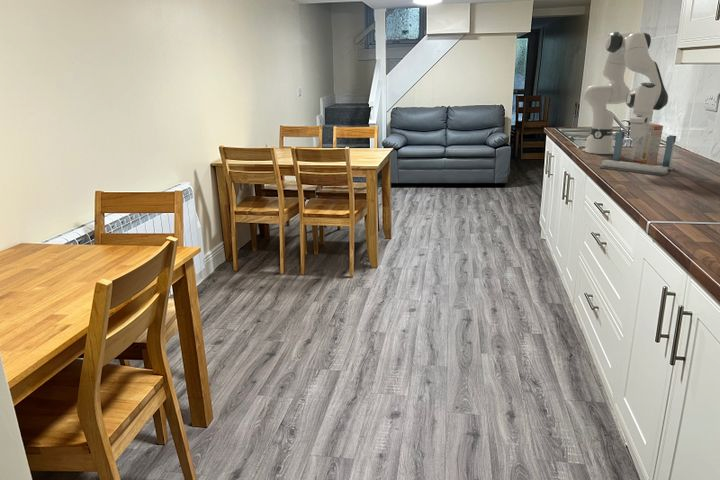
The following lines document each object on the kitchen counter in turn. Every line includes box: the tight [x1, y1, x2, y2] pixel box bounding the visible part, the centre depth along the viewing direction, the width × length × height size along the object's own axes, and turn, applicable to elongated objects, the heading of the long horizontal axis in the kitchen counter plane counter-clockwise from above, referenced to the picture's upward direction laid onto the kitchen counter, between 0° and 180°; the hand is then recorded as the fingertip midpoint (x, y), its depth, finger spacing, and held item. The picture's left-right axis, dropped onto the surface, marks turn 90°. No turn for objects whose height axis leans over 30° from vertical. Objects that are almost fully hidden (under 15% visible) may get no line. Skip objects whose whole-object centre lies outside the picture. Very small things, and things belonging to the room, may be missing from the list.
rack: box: [611, 130, 677, 173], centre depth 280 cm, size 8×30×17 cm, turn 50°
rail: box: [601, 159, 669, 175], centre depth 273 cm, size 3×30×3 cm, turn 50°
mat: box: [599, 165, 670, 177], centre depth 274 cm, size 10×30×1 cm, turn 50°
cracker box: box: [633, 122, 664, 165], centre depth 290 cm, size 14×6×21 cm, turn 179°
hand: (637, 145), depth 271 cm, fingers open, 8 cm apart
